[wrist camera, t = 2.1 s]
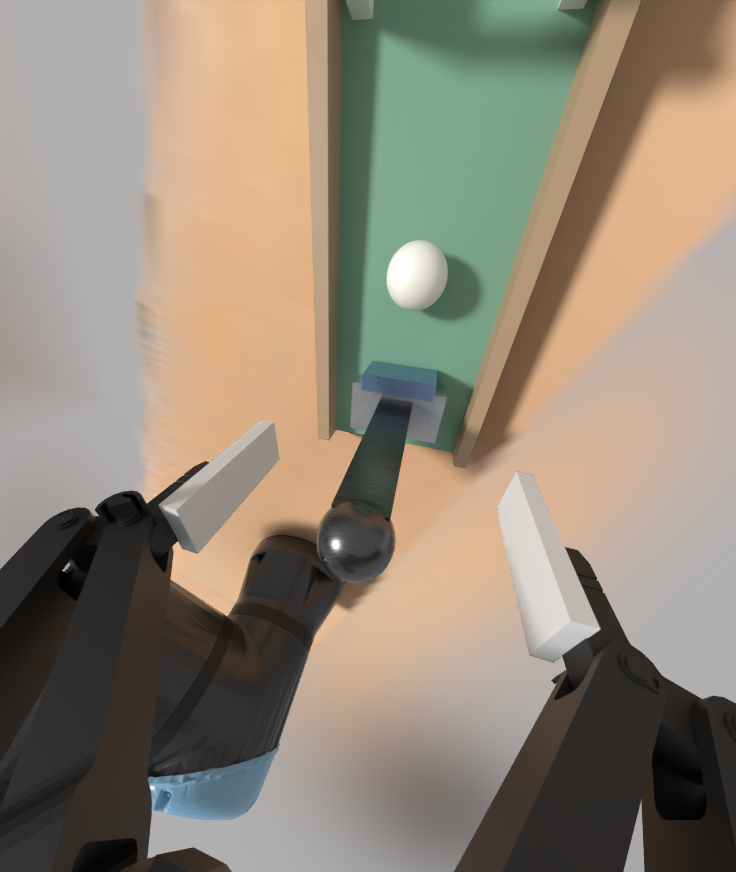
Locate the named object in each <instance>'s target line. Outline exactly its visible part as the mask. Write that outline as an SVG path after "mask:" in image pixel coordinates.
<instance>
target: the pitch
mask: <svg viewBox="0 0 736 872" xmlns="http://www.w3.org/2000/svg"><path fill="white" fill-rule="evenodd" d="M559 2H560V0H374V7H373V19H361V20H352V18H351V15H350V12H349V9H348V6H347V3H346V0H305V12H306V45H307V78H308V111H309V144H310V177H311V210H312V243H313V276H314V309H315V342H316V375H317V408H318V439H323V440H328V441H329V440H330V438H331V437H332V435H333V434H334V432H335V431H336V430H341V431H346V432H351V433H356V434H362V435H364V433H365V431H366V430H361V429H356V428H351V427H350V423H351V403H352V383H353V381H354V380H355V378H356V377H357V376H358V375H359V374H363V373H364V371H365V370H366V369H367V367H368V366H369V365H370V363H371V362H372V361H377V362H384V363H391V364H397V365H404V366H411V367H418V368H424V369H431V370H437V386H441V387H446V388H447V400H446V404H445V408H444V411H443V415H442V419H441V422H440V426H439V430H438V433H437V437H436V441H435V444H434V443H429V442H424V441H419V440H413V439H408V438H406V441H405V443H408V444H413V445H418V446H423V447H429V448H434V449H439V450H444V451H449V452H453V464H454V466H457V467H462V468H466V467H467V464H468V461H469V459H470V456H471V453H472V451H473V448H474V445H475V443H476V440H477V437H478V435H479V432H480V429H481V427H482V424H483V421H484V419H485V416H486V413H487V411H488V408H489V405H490V403H491V400H492V397H493V395H494V392H495V389H496V387H497V384H498V381H499V379H500V376H501V373H502V371H503V368H504V365H505V363H506V360H507V357H508V355H509V352H510V349H511V347H512V344H513V341H514V339H515V336H516V333H517V331H518V328H519V325H520V323H521V320H522V317H523V315H524V312H525V309H526V307H527V304H528V301H529V299H530V296H531V293H532V291H533V288H534V285H535V283H536V280H537V277H538V275H539V272H540V269H541V267H542V264H543V261H544V259H545V256H546V253H547V251H548V248H549V245H550V243H551V240H552V237H553V235H554V232H555V229H556V227H557V224H558V221H559V219H560V216H561V213H562V211H563V208H564V205H565V203H566V200H567V197H568V195H569V192H570V189H571V187H572V184H573V181H574V179H575V176H576V173H577V171H578V168H579V165H580V163H581V160H582V157H583V155H584V152H585V149H586V147H587V144H588V141H589V139H590V136H591V133H592V131H593V128H594V125H595V123H596V120H597V117H598V115H599V112H600V109H601V107H602V104H603V101H604V99H605V96H606V93H607V91H608V88H609V85H610V83H611V80H612V77H613V75H614V72H615V69H616V67H617V64H618V61H619V59H620V56H621V53H622V51H623V48H624V45H625V43H626V40H627V37H628V35H629V32H630V29H631V27H632V24H633V21H634V19H635V16H636V13H637V11H638V8H639V5H640V3H641V0H588V1H587V2H586V4H585V6H584V8H583V9H565V10H557V9H558V5H559ZM415 240H425V241H428V242H431V243H433V244H435V245H436V246H437V247H438V248H439V249H440V250H441V251H442V253H443V254H444V256H445V259H446V262H447V266H448V278H447V283H446V286H445V289H444V291H443V293H442V294H441V296H440V297H439V298H438V300H437V301H436V302H435V303H434V304H432V305H431V306H429V307H428V308H426V309H423V310H419V311H409V310H406V309H403V308H401V307H400V306H398V305H397V304H396V303H395V302H394V301H393V299H392V298H391V296H390V294H389V291H388V288H387V280H386V278H387V270H388V266H389V263H390V261H391V259H392V257H393V256H394V254H395V253H396V252H397V251H398V250H399V249H400V248H401V247H402V246H403V245H405V244H407V243H409V242H411V241H415Z"/></svg>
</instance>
